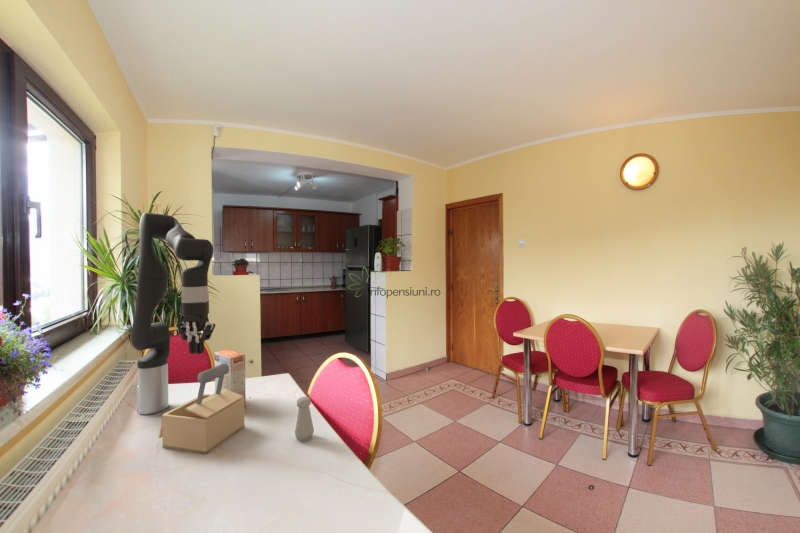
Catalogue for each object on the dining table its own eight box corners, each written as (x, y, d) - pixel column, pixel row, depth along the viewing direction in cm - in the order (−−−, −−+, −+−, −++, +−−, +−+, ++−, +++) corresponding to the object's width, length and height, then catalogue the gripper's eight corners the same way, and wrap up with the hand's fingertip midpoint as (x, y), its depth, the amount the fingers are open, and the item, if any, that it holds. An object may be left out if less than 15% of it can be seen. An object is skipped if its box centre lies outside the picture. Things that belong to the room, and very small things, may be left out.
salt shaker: (317, 435, 105) (316, 395, 104) (306, 444, 99) (306, 403, 99) (302, 432, 106) (301, 393, 106) (291, 441, 101) (290, 400, 101)
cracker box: (246, 407, 125) (245, 354, 125) (230, 413, 120) (229, 358, 120) (230, 398, 134) (229, 348, 133) (214, 403, 129) (213, 351, 128)
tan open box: (156, 446, 99) (156, 414, 99) (200, 421, 115) (199, 393, 114) (206, 454, 95) (205, 420, 95) (244, 426, 110) (243, 397, 110)
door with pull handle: (183, 408, 97) (190, 374, 96) (221, 389, 112) (228, 359, 111) (206, 418, 95) (214, 383, 94) (242, 397, 110) (249, 367, 109)
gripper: (167, 301, 102) (168, 355, 103) (203, 302, 99) (204, 358, 99) (188, 298, 110) (189, 349, 110) (222, 299, 106) (223, 351, 107)
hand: (196, 353), depth 105 cm, fingers closed
